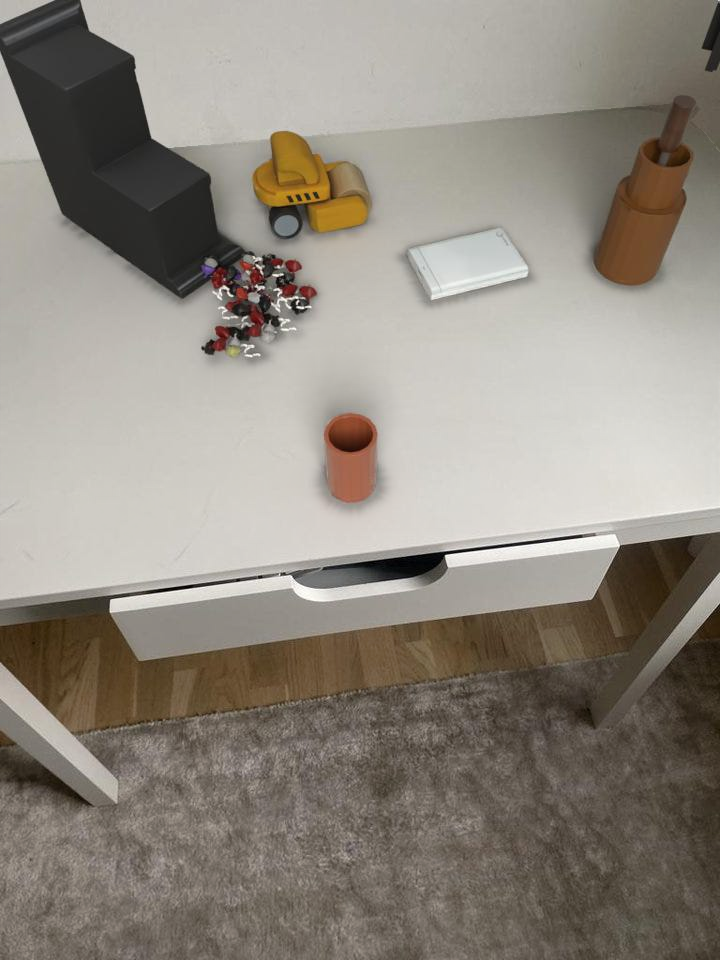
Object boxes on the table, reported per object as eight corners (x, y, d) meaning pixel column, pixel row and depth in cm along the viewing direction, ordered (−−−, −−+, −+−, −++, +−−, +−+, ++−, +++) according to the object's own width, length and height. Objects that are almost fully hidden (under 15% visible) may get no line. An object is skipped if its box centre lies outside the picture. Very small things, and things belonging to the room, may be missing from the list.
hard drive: (501, 225, 95) (407, 246, 93) (529, 268, 90) (432, 291, 88) (499, 236, 96) (406, 257, 94) (527, 279, 92) (430, 301, 90)
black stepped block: (247, 255, 94) (217, 64, 74) (181, 301, 90) (130, 111, 70) (127, 178, 103) (71, -12, 83) (61, 217, 98) (-14, 26, 79)
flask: (670, 269, 93) (719, 158, 80) (625, 294, 90) (668, 183, 78) (625, 235, 96) (665, 123, 84) (581, 258, 94) (615, 147, 81)
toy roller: (375, 228, 97) (376, 153, 88) (263, 245, 95) (253, 170, 86) (360, 186, 102) (360, 111, 93) (253, 201, 100) (243, 126, 91)
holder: (385, 487, 75) (387, 439, 69) (344, 511, 74) (343, 464, 67) (358, 454, 78) (357, 405, 71) (318, 476, 76) (314, 428, 69)
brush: (644, 261, 92) (706, 103, 76) (626, 271, 92) (686, 112, 75) (626, 248, 94) (684, 89, 77) (609, 257, 93) (663, 98, 76)
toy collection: (179, 273, 91) (175, 244, 86) (296, 256, 94) (298, 227, 90) (206, 375, 84) (203, 349, 80) (330, 352, 88) (333, 327, 84)
